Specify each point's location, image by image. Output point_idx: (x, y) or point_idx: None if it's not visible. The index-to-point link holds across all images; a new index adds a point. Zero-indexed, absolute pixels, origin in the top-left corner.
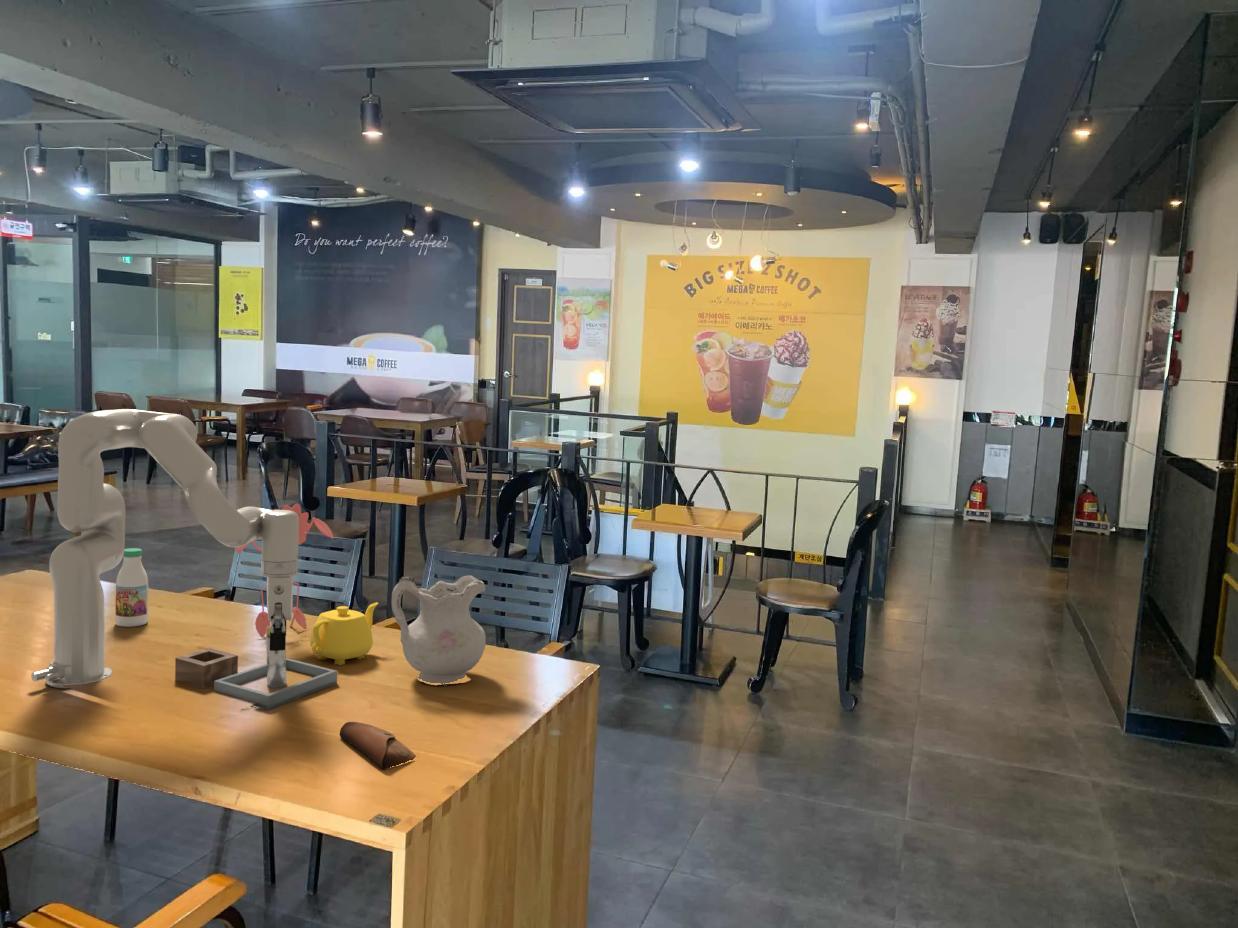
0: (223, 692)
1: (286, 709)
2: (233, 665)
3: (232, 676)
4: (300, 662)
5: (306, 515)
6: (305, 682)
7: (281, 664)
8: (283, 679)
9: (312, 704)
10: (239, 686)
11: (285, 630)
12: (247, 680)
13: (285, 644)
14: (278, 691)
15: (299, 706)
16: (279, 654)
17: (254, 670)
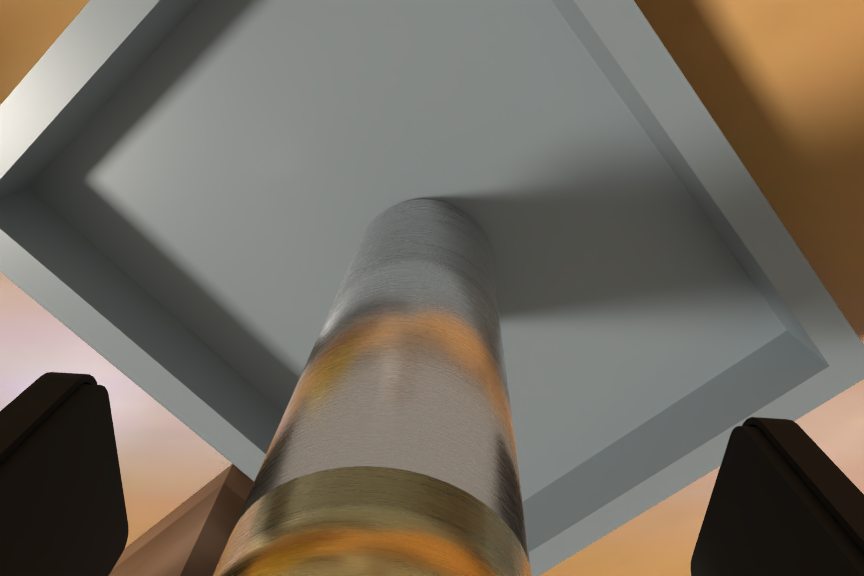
0: None
1: (860, 215)
2: None
3: None
4: (65, 70)
5: None
6: (677, 69)
7: (492, 312)
8: (478, 240)
9: (851, 22)
10: (594, 521)
11: (43, 443)
12: None
13: (834, 464)
14: (811, 300)
15: (846, 125)
16: (507, 389)
17: (244, 429)
